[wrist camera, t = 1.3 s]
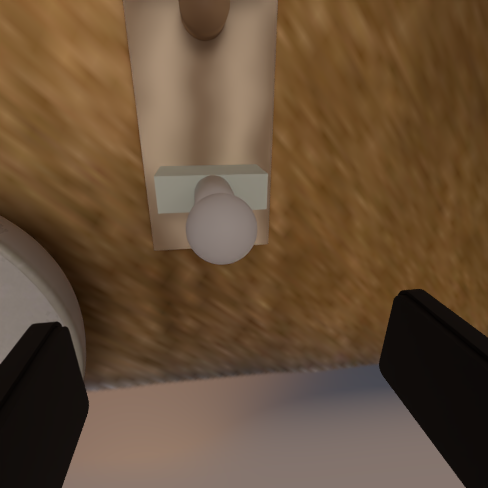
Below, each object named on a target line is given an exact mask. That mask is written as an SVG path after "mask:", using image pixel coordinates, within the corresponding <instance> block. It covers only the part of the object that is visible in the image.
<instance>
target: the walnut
mask: <svg viewBox="0 0 488 488" xmlns="http://www.w3.org/2000/svg"><path fill="white" fill-rule="evenodd" d="M178 1H179V9H180V16H181V20H182V23H183V25H184V27H185V29H186V30H187V32H188V33H189V34H190V35H191V36H193V37H194V38H196V39H198V40H201V41H208V40H212V39H214V38H216V37H217V36H218V35H219V34H220V33H221V31H222V30H223V28H224V25H225V22H226V20H227V17H228V14H229V10H230V0H178Z"/></svg>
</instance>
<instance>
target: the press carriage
mask: <svg viewBox="0 0 488 488" xmlns="http://www.w3.org/2000/svg"><path fill="white" fill-rule="evenodd" d="M154 182H155V190H156V199H157V208H158V214H163V213H187V212H190V213H189V215H188V218H187V221H186V236H187V240H188V242H189V245H190V246H191V248H192V250H193V251H194V252H195V253H196V254H197V255H198V256H199V257H200V258H202V259H203V260H205V261H207V262H210V263H213V264H220V265H221V264H230V263H234V262H236V261H238V260H240V259H241V258H243V257H244V256H245V255H247V254H248V252H249V251H250V250H251V249H252V247H253V245H254V243H255V240H256V237H257V221H256V218H255V215H254V213H253V211H252V210H260V209H267V186H268V173H266V172H265V171H264V170H263V169H261V168H260V167H259V166H258V165H256V164H248V165H196V166H160V168H159V169H158V171H157V172H156V174H155V175H154Z"/></svg>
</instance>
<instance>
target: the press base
mask: <svg viewBox="0 0 488 488" xmlns="http://www.w3.org/2000/svg"><path fill="white" fill-rule="evenodd" d="M123 6H124V14H125V22H126V30H127V38H128V46H129V54H130V62H131V70H132V78H133V86H134V94H135V102H136V110H137V118H138V126H139V134H140V142H141V150H142V158H143V165H144V173H145V181H146V189H147V197H148V205H149V213H150V221H151V229H152V237H153V245H154V251H158V250H175V249H192V248H191V246H190V245H189V242H188V240H187V236H186V221H187V218H188V215H189V213H190V212H187V213H163V214H158V208H157V199H156V190H155V182H154V175H155V174H156V172H157V171H158V169H159V168H160V166H196V165H248V164H256V165H258V166H259V167H260V168H261V169H263V170H264V171H265V172H266V173H268V186H267V209H260V210H252V211H253V213H254V215H255V218H256V221H257V237H256V240H255V243H254V245H261V244H268V235H269V209H270V184H271V159H272V134H273V109H274V84H275V59H276V34H277V9H278V0H230V10H229V14H228V17H227V20H226V22H225V25H224V28H223V30H222V31H221V33H220V34H219V35H218V36H217V37H216V38H214V39H212V40H208V41H201V40H198V39H196V38H194V37H193V36H191V35H190V34H189V33H188V32H187V30H186V29H185V27H184V25H183V23H182V20H181V16H180V9H179V1H178V0H123Z"/></svg>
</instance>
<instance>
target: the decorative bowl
mask: <svg viewBox="0 0 488 488" xmlns="http://www.w3.org/2000/svg"><path fill="white" fill-rule="evenodd" d="M56 321H57V322H60V323H61V325H62V327H63V326H66V327H68V328H69V331H70V334H71V338H72V342H73V345H74V349H75V352H76V356H77V360H78V363H79V367H80V371H81V374H82V378H83V382H84V377H85V368H86V337H85V329H84V323H83V318H82V314H81V310H80V306H79V303H78V301H77V298H76V295H75V293H74V291H73V288H72V286H71V284H70V283H69V281H68V279H67V277H66V275H65V274H64V272H63V271H62V269H61V268H60V266H59V265H58V264H57V262H56V261H55V260H54V259H53V257H52V256H51V255H50V254H49V253H48V252H47V251H46V250H45V249H44V248H43V247H42V246H41V245H40V244H39V243H38V242H37V241H36V240H35V239H34V238H32V237H31V236H30V235H29V234H28V233H26V232H25V231H24V230H22V229H21V228H19V227H18V226H17V225H15V224H13V223H12V222H10V221H9V220H7V219H6V218H4V217H2V216H0V364H1V363H2V361H3V360H4V359H5V357H6V356H7V355H8V354H9V352H10V351H11V350H12V348H13V347H14V346H15V345H16V343H17V342H18V341H19V339H20V338H21V337H22V335H23V334H24V333H25V332H26V330H27V329H28V328H29V327H30V326H31V325H32V324H34V323H45V322H56Z"/></svg>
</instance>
